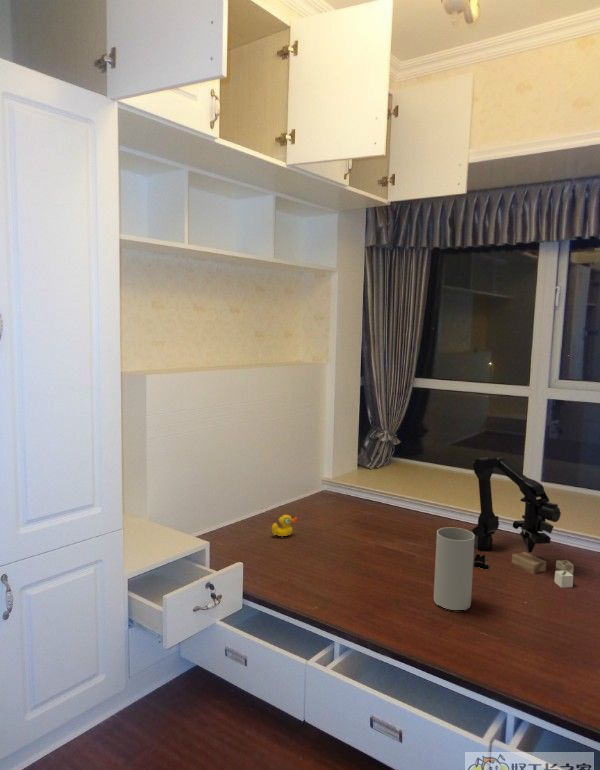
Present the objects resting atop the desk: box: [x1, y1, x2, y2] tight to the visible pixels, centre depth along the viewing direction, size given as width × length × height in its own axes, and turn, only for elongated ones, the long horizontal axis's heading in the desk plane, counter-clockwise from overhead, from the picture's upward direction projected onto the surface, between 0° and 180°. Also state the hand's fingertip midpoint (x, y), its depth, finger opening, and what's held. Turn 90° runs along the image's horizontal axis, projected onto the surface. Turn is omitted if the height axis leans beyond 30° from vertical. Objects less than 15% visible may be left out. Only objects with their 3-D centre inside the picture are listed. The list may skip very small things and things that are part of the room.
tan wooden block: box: [511, 551, 548, 575], centre depth 230 cm, size 7×11×4 cm, turn 26°
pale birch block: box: [555, 559, 575, 576], centre depth 224 cm, size 4×4×5 cm
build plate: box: [473, 553, 491, 571], centre depth 230 cm, size 12×7×5 cm, turn 61°
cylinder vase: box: [433, 526, 475, 611], centre depth 197 cm, size 12×12×25 cm
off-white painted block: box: [554, 570, 574, 589], centre depth 215 cm, size 4×4×5 cm
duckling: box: [271, 514, 298, 536], centre depth 256 cm, size 11×5×10 cm, turn 103°
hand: (529, 552), depth 229 cm, fingers closed
